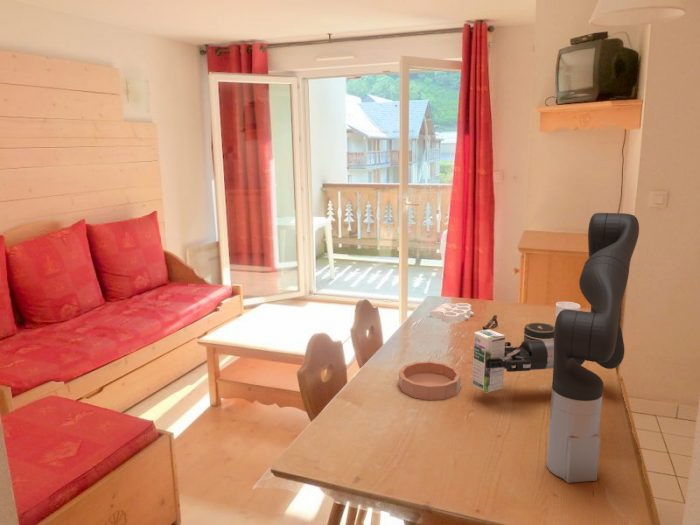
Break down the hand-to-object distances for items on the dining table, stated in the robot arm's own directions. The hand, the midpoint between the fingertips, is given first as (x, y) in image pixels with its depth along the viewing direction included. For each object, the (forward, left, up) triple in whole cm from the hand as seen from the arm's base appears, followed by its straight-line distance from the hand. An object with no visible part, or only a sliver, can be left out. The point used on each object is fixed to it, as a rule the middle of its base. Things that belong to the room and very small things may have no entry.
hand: (480, 357), depth 138 cm
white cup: (+44, -46, -12) cm, 65 cm away
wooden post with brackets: (+52, -22, -12) cm, 58 cm away
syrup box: (0, -2, -8) cm, 8 cm away
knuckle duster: (+68, -13, -12) cm, 70 cm away
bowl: (+9, +11, -11) cm, 18 cm away
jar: (+30, -30, -12) cm, 44 cm away
